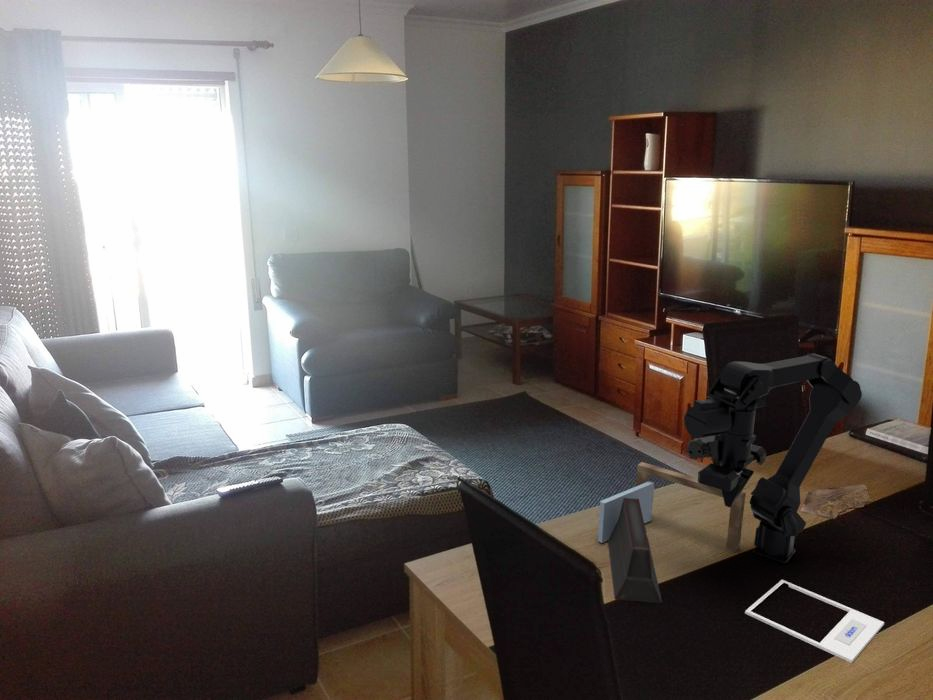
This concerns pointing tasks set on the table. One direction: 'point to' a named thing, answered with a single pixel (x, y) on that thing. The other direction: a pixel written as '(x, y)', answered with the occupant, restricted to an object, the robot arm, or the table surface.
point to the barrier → (632, 557)
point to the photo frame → (843, 637)
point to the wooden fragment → (835, 500)
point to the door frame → (692, 482)
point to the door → (613, 506)
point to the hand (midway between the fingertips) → (728, 506)
